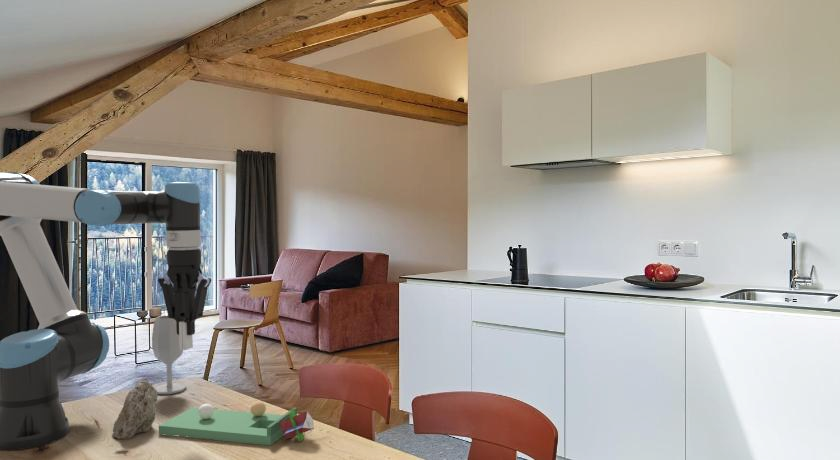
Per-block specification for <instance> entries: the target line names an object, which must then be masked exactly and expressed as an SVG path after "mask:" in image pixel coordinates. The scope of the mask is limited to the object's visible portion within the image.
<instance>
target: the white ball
mask: <svg viewBox="0 0 840 460" xmlns="http://www.w3.org/2000/svg"><path fill="white" fill-rule="evenodd" d="M198 408H199V410H198V414H199V416H200V417H201V418H202V419H209V418H211V417H212V415H213V414H214V409H215V408H214V406H213V405H212V404H210V403H203V404H201V405H200V406H199V407H198Z"/></svg>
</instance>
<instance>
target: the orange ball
mask: <svg viewBox="0 0 840 460" xmlns="http://www.w3.org/2000/svg"><path fill="white" fill-rule="evenodd" d="M266 408H267V406H266V404H265V403H264V402H263V401H261V400H260V401H259V400H257V401H254V402H253V403H252V404H251V406H250V412H251V413H252V414H253V415H254V416H257V417H259V416H262V415H263V414H266V413H265V412H266V410H267V409H266Z"/></svg>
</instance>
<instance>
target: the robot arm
mask: <svg viewBox="0 0 840 460" xmlns="http://www.w3.org/2000/svg"><path fill="white" fill-rule="evenodd" d="M164 186H165V187H164V190H161V191H158V190H157V191H156V190H155V191H153V190H151V191H148V190H146V191H140V190H111V189H110V190H109V189H96V188H84V187H82V188H81V187H73V186H72V187H71V186H60V185H59V186H58V185H48V184H47V185H46V184H40V183H39V181H38V180H37V179H35V178H34V177H32V176H30V175H28V174H25V173H19V172H15V171H4V172H3V171H2V172H1V171H0V236H1V238H2V241H3V243H4V245H5V247H6V250H7V252H8V255H9V257H10V259H11V261H12V264H13V266H14V268H15V270H16V273H17V275H18V278H19V280H20V282H21V284H22V287H23V289H24V291H25V293H26V296H27V298H28V301H29V303H30V305H31V307H32V309H33V311H34V314H35V317H36V318H37V321H38V323H39V325H38V327H37V328H35V329H29V330H27V331H20V332H17V333H13V334H11V335H9V336H8V335H7V336H6V337H4V338H3V339H1V340H0V451H1V450H2V451H16V450H25V449H30V448H32V449H33V448H37V447H41V446H44V445H47V444H51V443H53V442H56V441H58V440H61V439H62V438H64V437H65V436H66V435H68V434H69V432H70V425H69V424H70V422H69V419H68V418H67V416H66V413H65V409H64V407H63V405H62V403H61V401H60V382H62V381H65V380H68V379H71V378H73V377H75V376H79V375H83V374H86V373H88V372H91V370H93V369H95V368H97V367H99V366H100V365H102V364H103V362H104V361H105V360H106V358H107V356H108V355H107V354H108V353H109V349H110V339H109V335H108V333H107V330H106V329H105V328H104V327H103V326H102V325H99V324H98V323H96V322H91V320H90V318H89V316H88V313H87V312H86V311H83V310H79V309H78V307H77V305H76V304H75V301H74V298H73V296H72V294H71V292H70V289H69V287H68V285H67V283H66V280H65V278H64V276H63V274H62V271H61V269H60V267H59V264H58V263H57V260H56V258H55V256H54V253H53V251H52V248H51V246H50V245H49V242H48V240H47V238H46V235H45V233H44V230H43V227H42V225H41V222H42V220H50V221H51V220H52V221H62V222H71V223H72V222H74V223H83V224H85V225H88V226H94V227H95V226H96V227H105V226H112V225H134V224H137V225H139V224H165V231H166V234H165V236H166V238H165V239H166V248H169V249H167V251H166V265H167V267H168V269H167V271H166V274H165V275H164V276H162V277H159V278H158V279H157V282H158V284H159V285H160V287H161V289H162V290H161V291H162V294H163V299H164V304H165V308H166V313H167V315H168V317H169V318H172V319H175V320H176V328H177V335H179V345H180V350H183V351H186V350H189V349H193V346H194V344H193V343H194V341H193V335H195V333H196V323H195V322H196V320H198V319H200V318H203V316H204V315H203V314H204V309H205V305H206V299H207V294H208V288H209V286H210V284H211V283H212V278H211V277H208V278H207V277H206V276H205V275H204V274H203V272H202V268H201V265H202V250H201V249H200V248H199V247H201V245H202V234H201V232H202V231H201V212H200V211H201V202H202V201H201V197H200V196H201V195H200V187H199V185H198V183H197V182H196V183H195V182H191V181H189V182H185V181H184V182H183V181H182V182H181V181H176V182H175V181H174V182H166V183H165V185H164ZM197 285H198V286H197Z"/></svg>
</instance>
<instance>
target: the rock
mask: <svg viewBox="0 0 840 460" xmlns="http://www.w3.org/2000/svg"><path fill="white" fill-rule="evenodd" d="M154 388H155V387H153V385H152V384H150V382H149V381H148V380H140V381H139V382H138V383H137V384H136V385H135V386H134V387H133V388H132V389H130V390H129V392H128V393H127V394H126V397H125V400H124V403H123V406H122V409H121V410H120V412H119V414H118V415H117V418H116V420H115V422H114V424H113V428H112V432H113V433H112V438H116V439H117V440H120V439H131V438H133V436H135V435H136V434H139V433H143V432H144V433H145V432H149V431H150V429H151V428H152V425H153V424H154V421H155V419H156V408H157V401H158V394H157V390H156V389H154Z"/></svg>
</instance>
